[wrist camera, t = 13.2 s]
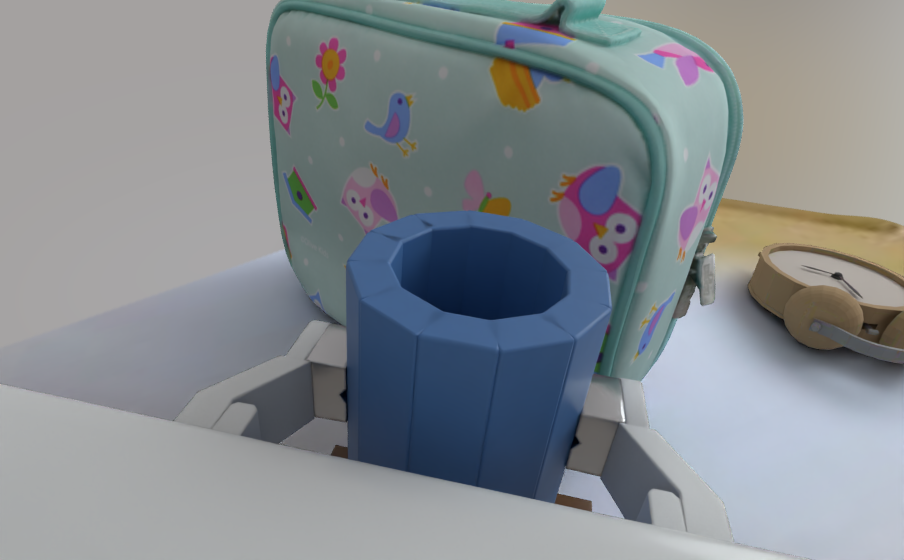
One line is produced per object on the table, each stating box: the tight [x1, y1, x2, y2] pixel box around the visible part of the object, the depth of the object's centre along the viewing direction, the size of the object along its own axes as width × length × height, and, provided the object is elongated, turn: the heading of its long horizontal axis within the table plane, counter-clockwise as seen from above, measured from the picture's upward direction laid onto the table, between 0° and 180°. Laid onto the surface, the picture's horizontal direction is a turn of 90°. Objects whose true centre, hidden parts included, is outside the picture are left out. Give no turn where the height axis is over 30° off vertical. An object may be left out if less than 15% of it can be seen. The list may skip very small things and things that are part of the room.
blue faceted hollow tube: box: [346, 210, 612, 504], centre depth 14 cm, size 5×5×9 cm
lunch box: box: [266, 0, 743, 382], centre depth 31 cm, size 27×10×21 cm, turn 48°
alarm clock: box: [748, 243, 904, 364], centre depth 42 cm, size 11×5×15 cm
